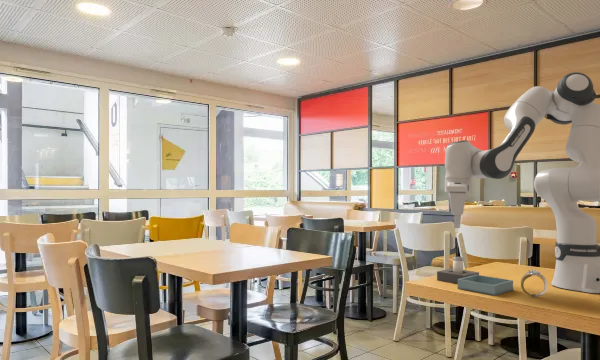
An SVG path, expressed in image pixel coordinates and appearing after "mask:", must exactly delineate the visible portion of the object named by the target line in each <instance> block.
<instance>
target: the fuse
mask: <svg viewBox="0 0 600 360" xmlns="http://www.w3.org/2000/svg"><path fill="white" fill-rule="evenodd" d="M452 268H453V273H459V274H462V273H463V270H464V257H462V256H452Z"/></svg>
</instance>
